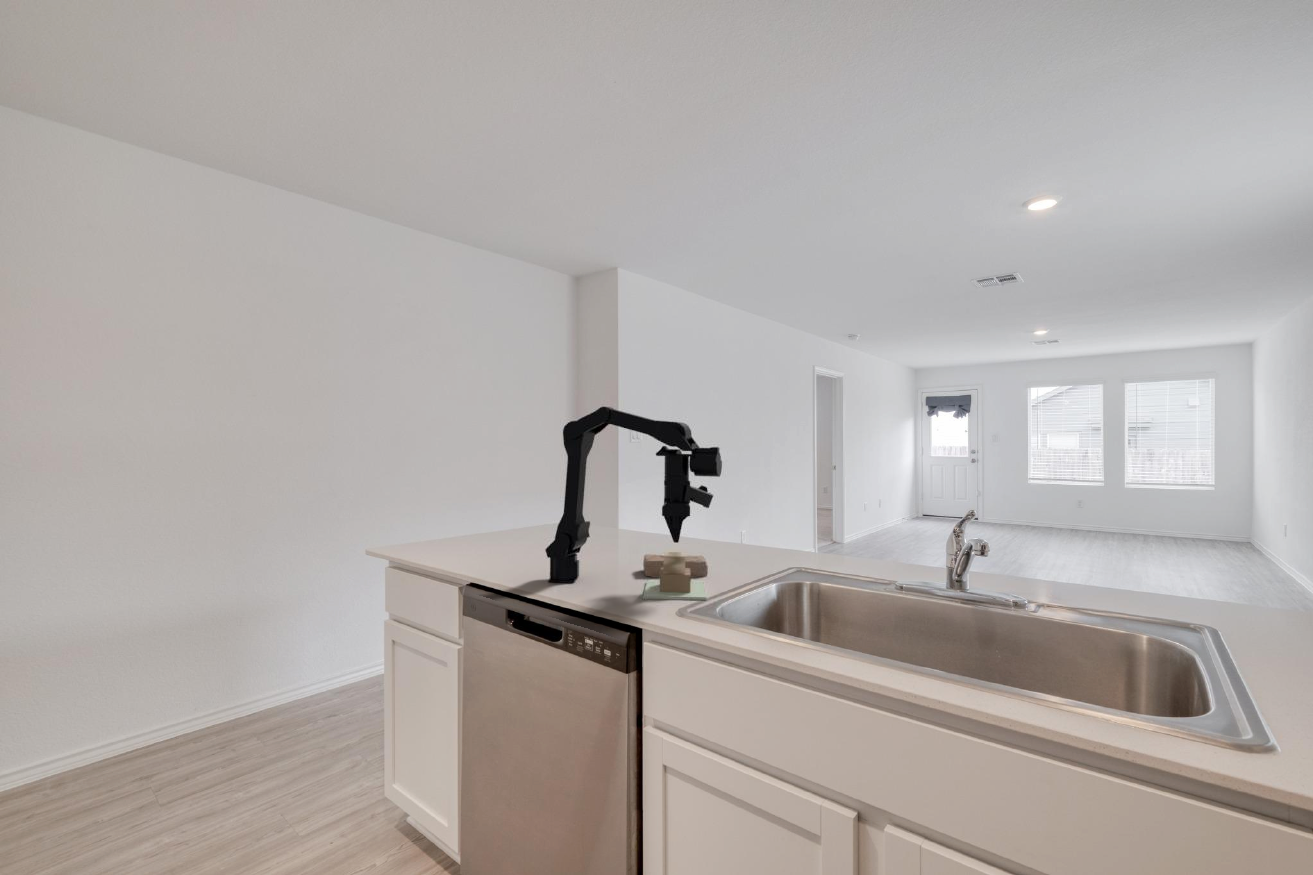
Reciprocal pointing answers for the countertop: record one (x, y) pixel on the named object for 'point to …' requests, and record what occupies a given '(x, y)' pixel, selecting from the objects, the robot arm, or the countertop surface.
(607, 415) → the robot arm
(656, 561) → the brick
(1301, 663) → the countertop surface
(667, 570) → the maple block
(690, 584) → the baseplate
